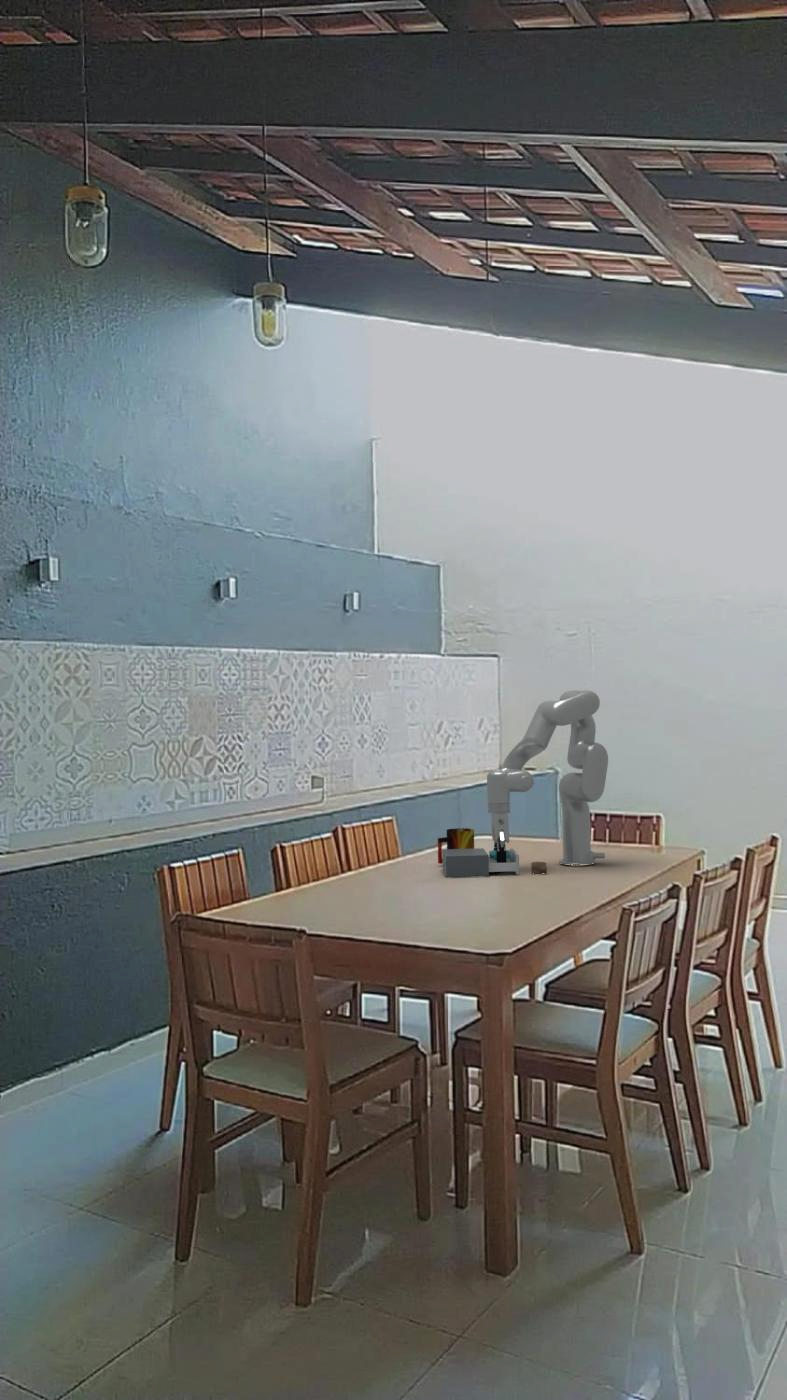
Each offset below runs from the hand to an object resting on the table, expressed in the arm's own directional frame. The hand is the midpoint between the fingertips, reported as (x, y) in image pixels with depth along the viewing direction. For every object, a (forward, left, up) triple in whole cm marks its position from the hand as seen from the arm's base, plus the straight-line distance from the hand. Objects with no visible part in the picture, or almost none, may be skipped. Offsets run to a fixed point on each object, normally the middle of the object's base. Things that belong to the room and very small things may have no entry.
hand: (500, 861), depth 388 cm
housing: (+12, 0, -4) cm, 12 cm away
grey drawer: (+1, 0, -3) cm, 4 cm away
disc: (0, 0, +1) cm, 1 cm away
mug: (+12, -19, -4) cm, 23 cm away
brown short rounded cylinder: (-12, +5, -4) cm, 14 cm away
